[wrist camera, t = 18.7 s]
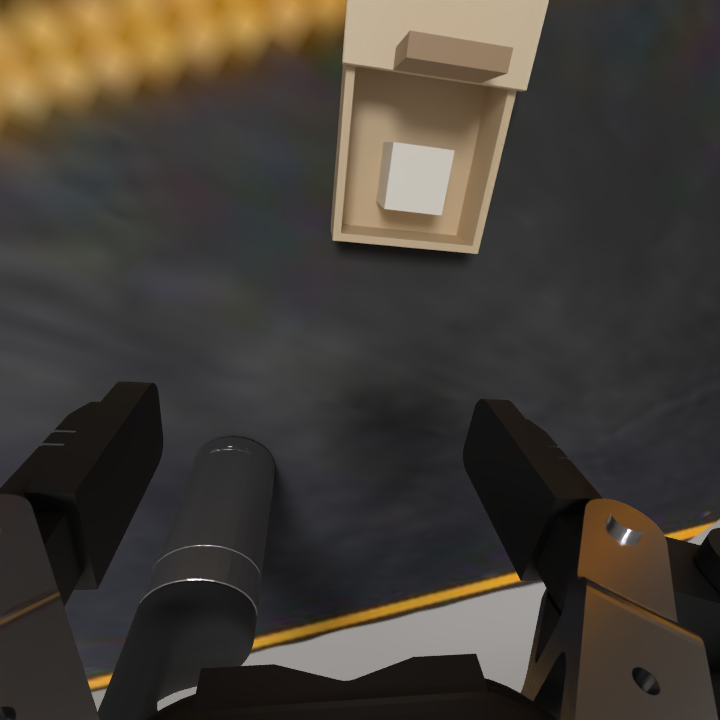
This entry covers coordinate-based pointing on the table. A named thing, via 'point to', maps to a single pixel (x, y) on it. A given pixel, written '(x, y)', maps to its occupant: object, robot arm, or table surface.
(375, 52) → the lid
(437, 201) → the block
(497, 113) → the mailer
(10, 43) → the table surface
